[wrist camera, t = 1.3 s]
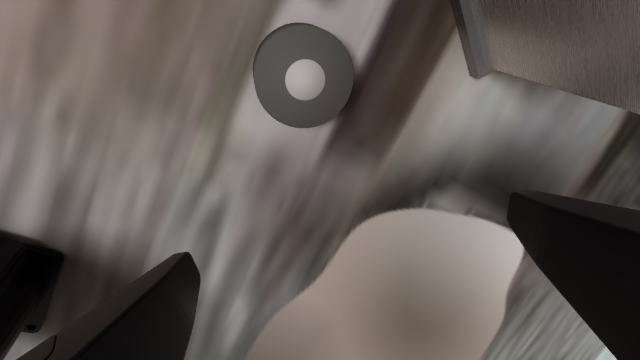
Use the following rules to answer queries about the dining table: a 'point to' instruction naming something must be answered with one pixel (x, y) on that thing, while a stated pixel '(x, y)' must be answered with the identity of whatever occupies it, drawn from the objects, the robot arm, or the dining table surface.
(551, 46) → the gray rectangular block
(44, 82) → the dining table surface
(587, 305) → the robot arm
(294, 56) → the loose wheel
